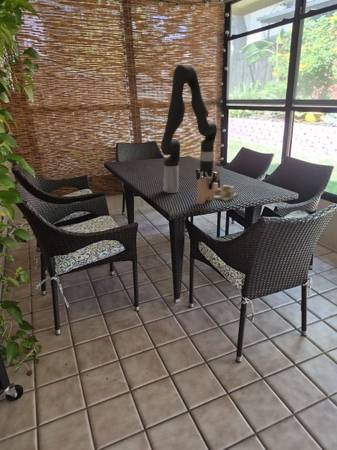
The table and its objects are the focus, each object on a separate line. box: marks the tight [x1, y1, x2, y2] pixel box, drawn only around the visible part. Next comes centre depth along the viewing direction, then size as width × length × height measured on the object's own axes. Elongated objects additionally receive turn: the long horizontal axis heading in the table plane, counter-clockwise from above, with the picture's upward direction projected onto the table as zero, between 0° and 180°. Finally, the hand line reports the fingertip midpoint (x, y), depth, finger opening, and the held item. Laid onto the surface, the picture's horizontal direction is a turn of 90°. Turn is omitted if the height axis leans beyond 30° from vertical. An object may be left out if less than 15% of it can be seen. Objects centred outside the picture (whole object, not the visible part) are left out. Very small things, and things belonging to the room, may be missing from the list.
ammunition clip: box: [212, 169, 221, 188], centre depth 207 cm, size 11×2×12 cm, turn 120°
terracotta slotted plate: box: [196, 176, 214, 205], centre depth 181 cm, size 3×12×14 cm, turn 137°
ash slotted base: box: [213, 182, 239, 202], centre depth 192 cm, size 18×14×7 cm
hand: (205, 188), depth 180 cm, fingers open, 5 cm apart
